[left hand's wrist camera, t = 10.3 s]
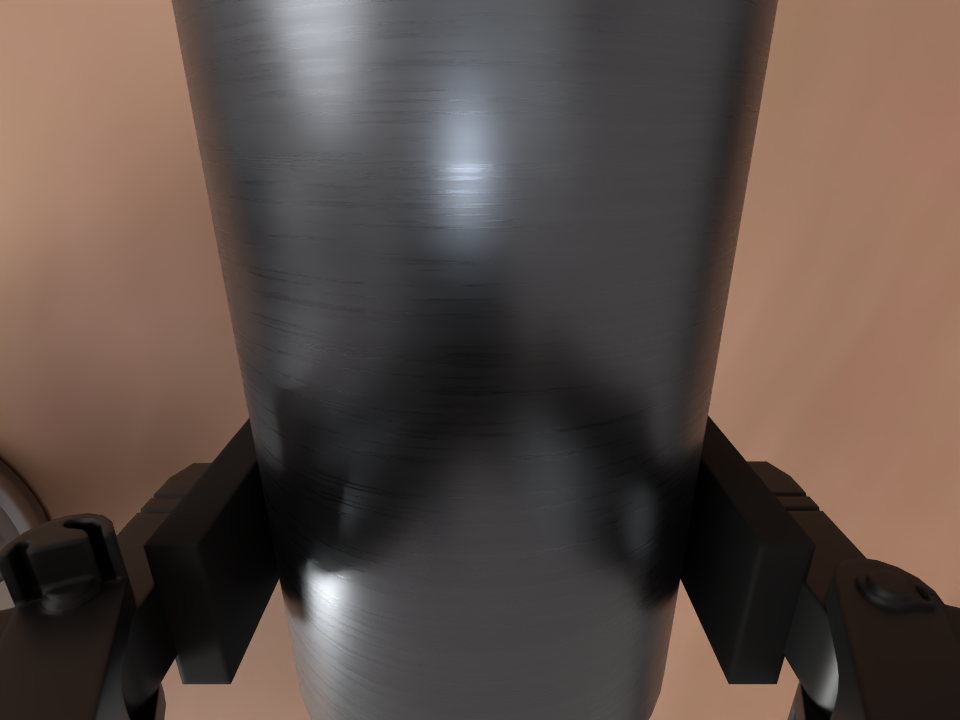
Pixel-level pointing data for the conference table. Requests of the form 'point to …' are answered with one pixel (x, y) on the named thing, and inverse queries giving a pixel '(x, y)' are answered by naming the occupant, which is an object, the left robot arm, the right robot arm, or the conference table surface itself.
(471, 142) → the rod
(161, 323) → the conference table surface
